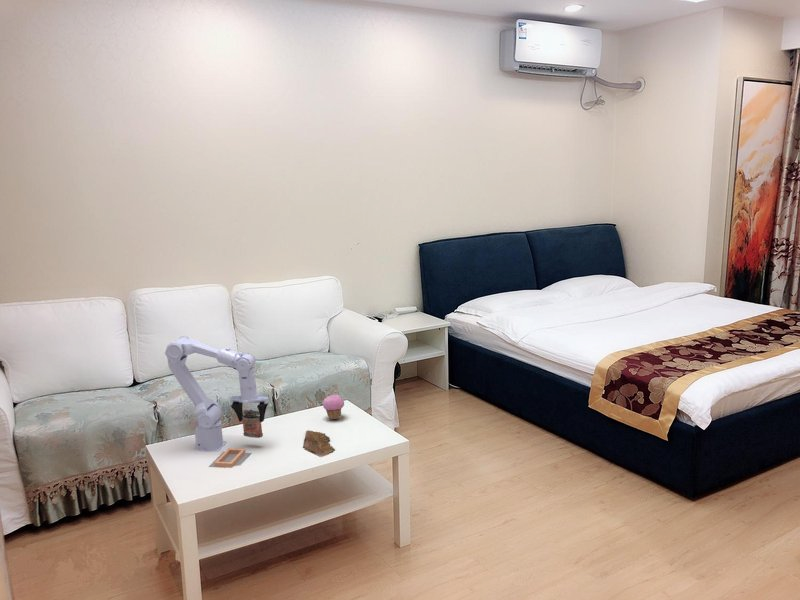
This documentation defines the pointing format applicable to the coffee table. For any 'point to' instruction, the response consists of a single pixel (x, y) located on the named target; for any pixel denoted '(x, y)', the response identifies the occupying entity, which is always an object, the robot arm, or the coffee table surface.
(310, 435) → the wooden fragment
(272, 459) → the coffee table surface
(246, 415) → the lighter
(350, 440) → the coffee table surface
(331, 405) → the cupcake
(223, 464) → the holder
